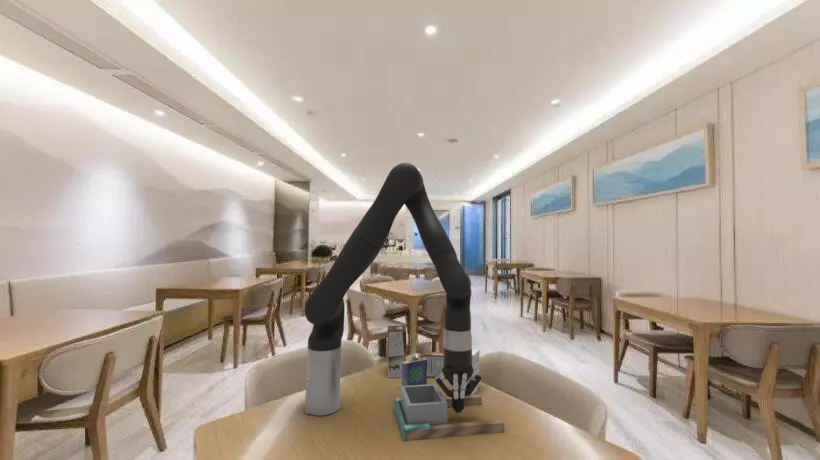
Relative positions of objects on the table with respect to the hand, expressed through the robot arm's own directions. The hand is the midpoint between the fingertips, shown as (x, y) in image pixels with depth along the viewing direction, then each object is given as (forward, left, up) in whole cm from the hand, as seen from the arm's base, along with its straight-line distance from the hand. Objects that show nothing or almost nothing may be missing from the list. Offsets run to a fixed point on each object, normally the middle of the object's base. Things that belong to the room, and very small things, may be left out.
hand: (457, 411), depth 94 cm
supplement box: (+8, +18, -3) cm, 20 cm away
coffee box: (-12, +36, -3) cm, 38 cm away
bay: (-3, 0, -2) cm, 4 cm away
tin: (+2, +30, -3) cm, 30 cm away
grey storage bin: (-10, 0, -2) cm, 10 cm away
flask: (-8, +22, -3) cm, 24 cm away
